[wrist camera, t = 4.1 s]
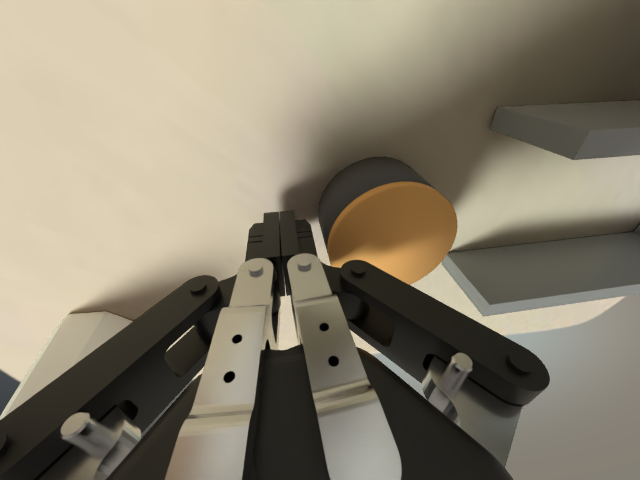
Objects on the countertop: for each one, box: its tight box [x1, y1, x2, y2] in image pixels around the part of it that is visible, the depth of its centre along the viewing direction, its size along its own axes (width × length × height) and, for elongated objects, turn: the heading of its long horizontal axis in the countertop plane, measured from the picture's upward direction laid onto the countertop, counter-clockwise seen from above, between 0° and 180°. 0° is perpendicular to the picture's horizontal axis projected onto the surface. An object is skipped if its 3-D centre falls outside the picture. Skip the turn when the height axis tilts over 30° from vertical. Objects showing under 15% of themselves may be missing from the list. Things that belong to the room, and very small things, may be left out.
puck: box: [318, 157, 457, 285], centre depth 13 cm, size 6×6×4 cm
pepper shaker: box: [0, 311, 133, 420], centre depth 13 cm, size 5×5×11 cm
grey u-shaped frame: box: [442, 100, 640, 316], centre depth 14 cm, size 10×16×5 cm, turn 91°
